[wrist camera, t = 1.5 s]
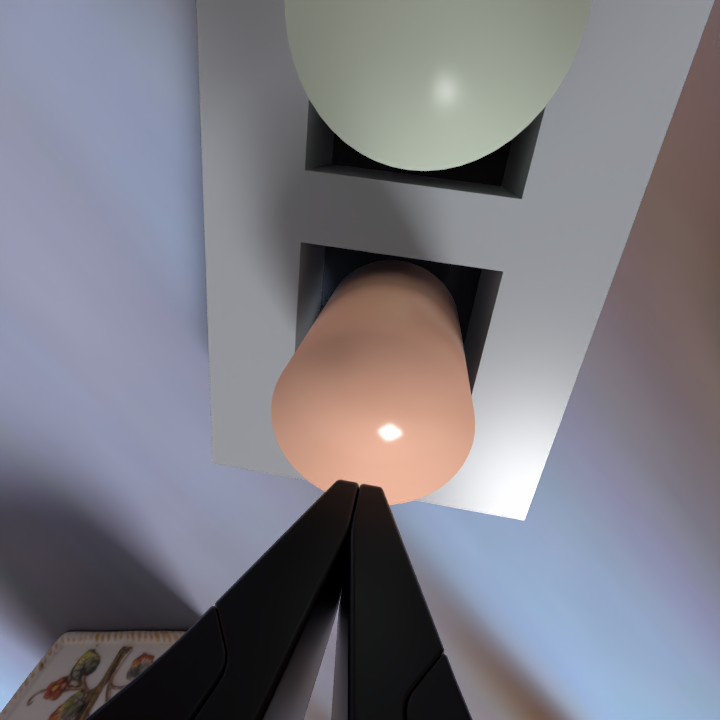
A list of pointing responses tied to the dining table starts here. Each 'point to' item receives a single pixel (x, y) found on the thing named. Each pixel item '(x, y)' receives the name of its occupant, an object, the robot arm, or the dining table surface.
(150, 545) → the dining table surface
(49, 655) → the decorative jar
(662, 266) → the dining table surface
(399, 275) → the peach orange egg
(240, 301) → the grey holder tray
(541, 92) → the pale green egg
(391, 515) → the robot arm
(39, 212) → the dining table surface
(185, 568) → the dining table surface
